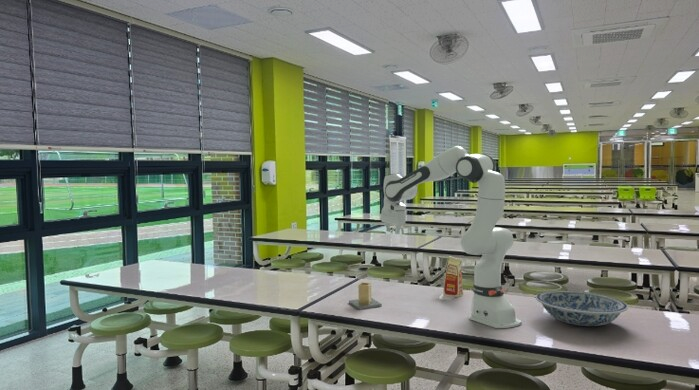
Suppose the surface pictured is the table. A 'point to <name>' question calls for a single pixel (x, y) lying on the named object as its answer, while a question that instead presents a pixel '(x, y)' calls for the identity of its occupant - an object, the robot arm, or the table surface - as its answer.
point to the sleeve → (364, 293)
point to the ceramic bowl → (581, 307)
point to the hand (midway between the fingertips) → (392, 232)
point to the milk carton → (453, 278)
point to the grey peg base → (365, 306)
